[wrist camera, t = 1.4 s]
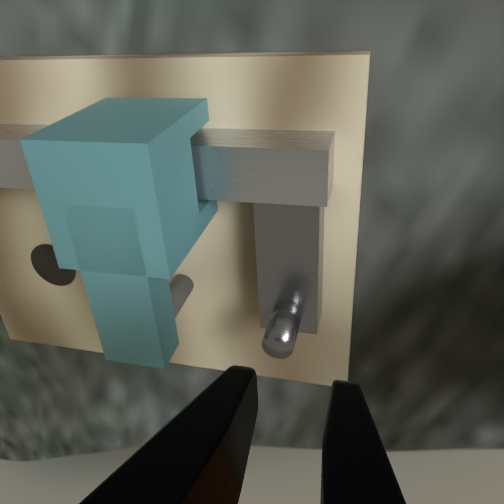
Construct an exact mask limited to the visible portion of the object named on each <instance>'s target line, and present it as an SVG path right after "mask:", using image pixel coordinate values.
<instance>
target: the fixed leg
mask: <svg viewBox="0 0 504 504" xmlns="http://www.w3.org/2000/svg"><path fill="white" fill-rule="evenodd" d="M253 210H254V228H255V246H256V263H257V281H258V299H259V317H260V328H266V331H265V334H264V337H263V340H262V348H263V350H264V352H265V353H266V354H267V355H269V356H271V357H273V358H276V359H285V358H288V357H289V356H291V354H292V353H293V350H294V346H295V342H296V338H297V334H298V332H299V333H308V334H316V335H317V332H318V327H319V322H320V317H321V312H322V284H323V248H324V211H325V207H318V206H301V205H284V204H267V203H253Z"/></svg>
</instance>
